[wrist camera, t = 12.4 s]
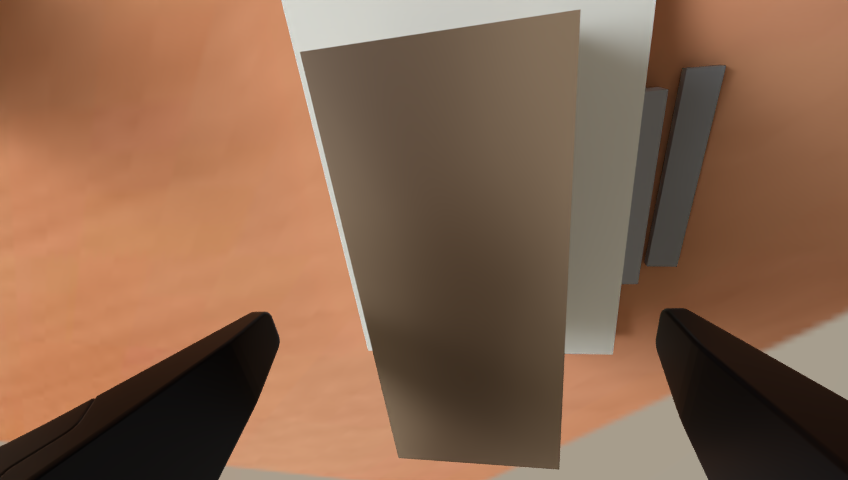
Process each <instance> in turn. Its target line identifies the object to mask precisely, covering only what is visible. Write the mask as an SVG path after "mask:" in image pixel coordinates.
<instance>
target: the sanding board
mask: <svg viewBox="0 0 848 480" xmlns="http://www.w3.org/2000/svg"><path fill="white" fill-rule="evenodd" d="M281 1H282V5H283V9H284V13H285V17H286V21H287V25H288V29H289V33H290V37H291V41H292V45H293V49H294V53H295V57H296V61H297V65H298V69H299V73H300V77H301V81H302V85H303V89H304V93H305V98H306V102H307V106H308V110H309V114H310V118H311V122H312V126H313V130H314V134H315V138H316V142H317V146H318V150H319V154H320V158H321V162H322V166H323V170H324V174H325V178H326V182H327V186H328V190H329V194H330V198H331V202H332V206H333V210H334V214H335V218H336V223H337V227H338V231H339V235H340V239H341V243H342V247H343V251H344V255H345V259H346V263H347V267H348V271H349V275H350V279H351V283H352V287H353V291H354V295H355V299H356V303H357V307H358V311H359V315H360V319H361V323H362V327H363V331H364V335H365V339H366V343H367V347H368V351H372V346H371V342H370V338H369V334H368V330H367V326H366V322H365V318H364V314H363V310H362V305H361V301H360V297H359V293H358V289H357V285H356V281H355V277H354V273H353V269H352V264H351V260H350V256H349V252H348V248H347V244H346V240H345V236H344V232H343V227H342V223H341V219H340V215H339V211H338V207H337V203H336V199H335V195H334V191H333V186H332V182H331V178H330V174H329V170H328V166H327V162H326V158H325V154H324V149H323V145H322V141H321V137H320V133H319V129H318V125H317V121H316V117H315V113H314V108H313V104H312V100H311V96H310V92H309V88H308V84H307V80H306V76H305V71H304V67H303V63H302V59H301V55H300V52H302V51H309V50H316V49H322V48H329V47H335V46H342V45H349V44H355V43H362V42H368V41H375V40H382V39H388V38H395V37H401V36H408V35H415V34H421V33H428V32H434V31H441V30H448V29H454V28H461V27H467V26H474V25H481V24H487V23H494V22H500V21H507V20H514V19H520V18H527V17H533V16H540V15H547V14H553V13H560V12H566V11H573V10H580V9H581V11H580V33H579V54H578V76H577V97H576V118H575V140H574V161H573V183H572V204H571V226H570V247H569V269H568V290H567V312H566V333H565V354H613V349H614V341H615V333H616V324H617V316H618V308H619V300H620V292H621V283H622V275H623V267H624V259H625V251H626V243H627V234H628V226H629V218H630V210H631V202H632V193H633V185H634V177H635V169H636V161H637V153H638V144H639V136H640V128H641V120H642V112H643V104H644V95H645V87H646V79H647V71H648V63H649V54H650V46H651V38H652V30H653V22H654V14H655V5H656V0H281Z"/></svg>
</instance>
